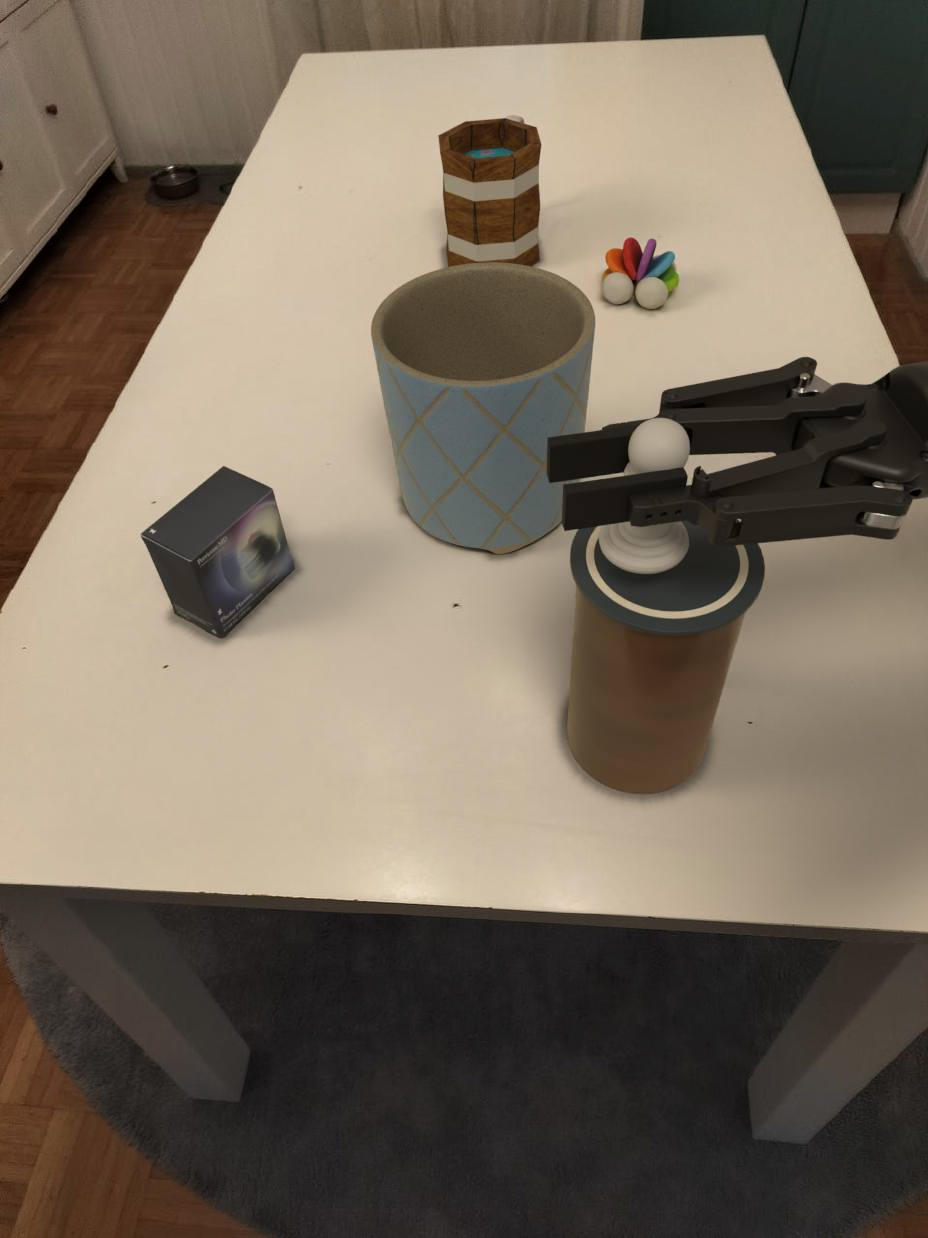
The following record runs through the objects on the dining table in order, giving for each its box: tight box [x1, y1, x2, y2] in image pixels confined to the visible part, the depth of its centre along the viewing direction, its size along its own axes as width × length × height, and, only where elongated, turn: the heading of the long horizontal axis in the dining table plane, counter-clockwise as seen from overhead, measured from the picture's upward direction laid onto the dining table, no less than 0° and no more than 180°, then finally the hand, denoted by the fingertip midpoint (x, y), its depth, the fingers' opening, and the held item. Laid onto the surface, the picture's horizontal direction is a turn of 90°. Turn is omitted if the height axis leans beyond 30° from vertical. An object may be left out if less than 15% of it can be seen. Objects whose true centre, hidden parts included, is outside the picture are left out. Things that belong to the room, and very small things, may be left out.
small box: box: [140, 465, 296, 639], centre depth 79 cm, size 11×6×10 cm, turn 147°
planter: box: [370, 262, 596, 555], centre depth 82 cm, size 19×19×20 cm
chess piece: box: [599, 417, 690, 574], centre depth 50 cm, size 5×5×9 cm
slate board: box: [569, 519, 766, 636], centre depth 55 cm, size 12×12×1 cm
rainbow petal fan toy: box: [601, 236, 680, 310], centre depth 110 cm, size 8×10×7 cm
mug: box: [437, 114, 542, 267], centre depth 117 cm, size 20×14×15 cm
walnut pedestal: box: [566, 584, 746, 795], centre depth 63 cm, size 11×11×20 cm
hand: (556, 483), depth 48 cm, fingers closed on chess piece, 3 cm apart
